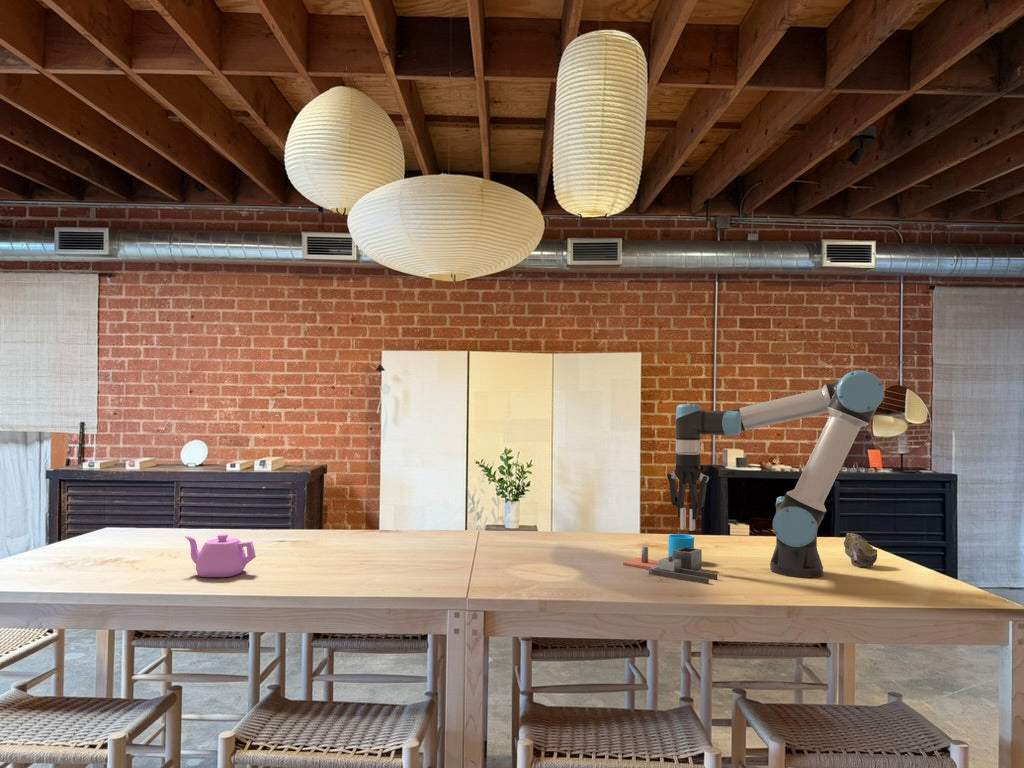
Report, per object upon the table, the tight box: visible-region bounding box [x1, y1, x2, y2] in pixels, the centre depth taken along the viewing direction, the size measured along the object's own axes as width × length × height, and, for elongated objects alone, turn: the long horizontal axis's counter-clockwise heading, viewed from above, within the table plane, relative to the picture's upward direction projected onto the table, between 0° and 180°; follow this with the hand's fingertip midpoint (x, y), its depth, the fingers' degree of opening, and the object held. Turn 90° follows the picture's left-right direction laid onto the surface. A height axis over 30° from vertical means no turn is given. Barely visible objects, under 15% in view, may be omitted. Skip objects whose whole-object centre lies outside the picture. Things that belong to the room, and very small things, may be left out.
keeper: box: [622, 546, 659, 570], centre depth 218 cm, size 10×10×6 cm
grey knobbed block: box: [658, 555, 681, 573], centre depth 205 cm, size 5×5×5 cm
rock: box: [843, 532, 878, 568], centre depth 222 cm, size 11×10×10 cm
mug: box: [667, 533, 695, 557], centre depth 226 cm, size 12×8×8 cm
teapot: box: [184, 533, 257, 578], centre depth 195 cm, size 13×20×11 cm
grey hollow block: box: [673, 547, 703, 571], centre depth 212 cm, size 6×8×6 cm
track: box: [648, 566, 718, 585], centre depth 202 cm, size 18×8×2 cm, turn 52°
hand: (687, 529), depth 212 cm, fingers open, 2 cm apart
